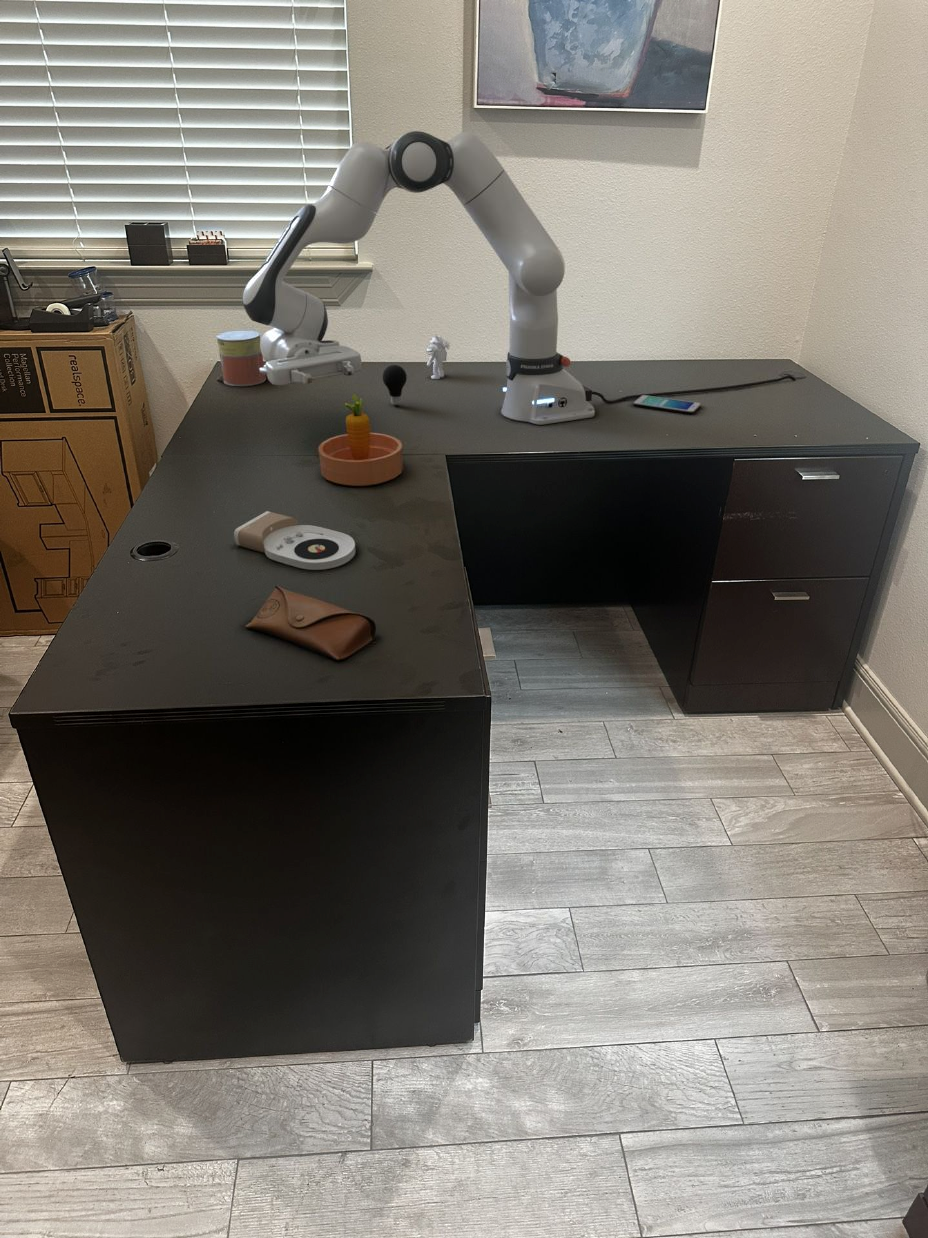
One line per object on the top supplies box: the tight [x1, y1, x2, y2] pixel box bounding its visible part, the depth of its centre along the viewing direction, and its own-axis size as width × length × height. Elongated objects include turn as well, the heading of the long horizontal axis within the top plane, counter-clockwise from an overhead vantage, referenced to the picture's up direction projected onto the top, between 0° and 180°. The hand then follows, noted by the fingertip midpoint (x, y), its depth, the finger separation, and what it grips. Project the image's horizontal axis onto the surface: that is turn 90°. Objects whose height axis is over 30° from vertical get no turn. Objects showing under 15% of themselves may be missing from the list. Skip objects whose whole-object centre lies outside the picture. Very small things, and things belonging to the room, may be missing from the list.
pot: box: [318, 432, 404, 487], centre depth 168 cm, size 17×17×6 cm
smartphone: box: [633, 395, 702, 415], centre depth 205 cm, size 7×1×15 cm
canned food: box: [216, 329, 267, 387], centre depth 224 cm, size 11×11×12 cm
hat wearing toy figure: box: [425, 334, 451, 380], centre depth 226 cm, size 9×4×12 cm, turn 148°
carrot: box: [344, 394, 371, 460], centre depth 166 cm, size 5×5×15 cm
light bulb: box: [382, 364, 408, 407], centre depth 204 cm, size 6×6×10 cm
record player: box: [233, 510, 356, 571], centre depth 140 cm, size 12×3×20 cm
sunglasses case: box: [244, 585, 377, 661], centre depth 118 cm, size 18×7×7 cm
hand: (329, 375), depth 169 cm, fingers open, 8 cm apart
